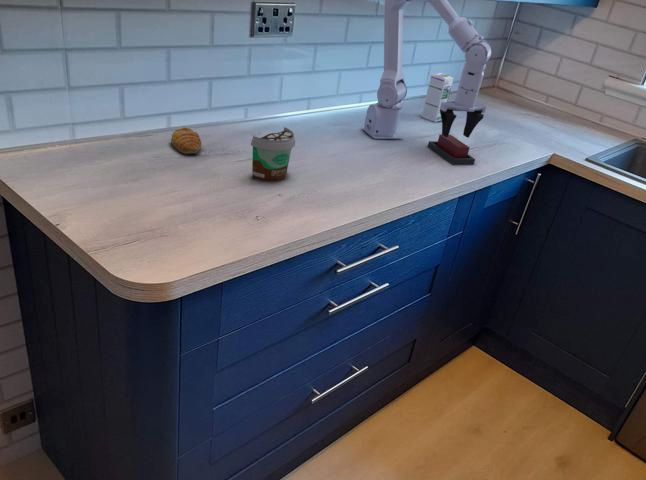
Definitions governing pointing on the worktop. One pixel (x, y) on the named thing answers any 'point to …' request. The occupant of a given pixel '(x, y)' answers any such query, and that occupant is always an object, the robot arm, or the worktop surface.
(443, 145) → the dark red block
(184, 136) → the pastry
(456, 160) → the cradle
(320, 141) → the worktop surface
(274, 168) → the food container
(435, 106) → the syrup box
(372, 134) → the robot arm
